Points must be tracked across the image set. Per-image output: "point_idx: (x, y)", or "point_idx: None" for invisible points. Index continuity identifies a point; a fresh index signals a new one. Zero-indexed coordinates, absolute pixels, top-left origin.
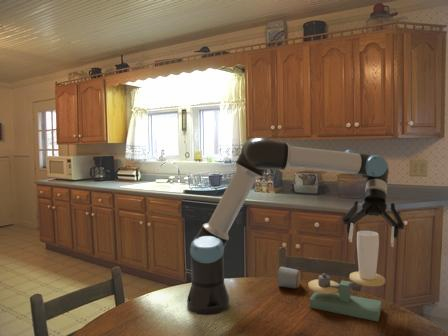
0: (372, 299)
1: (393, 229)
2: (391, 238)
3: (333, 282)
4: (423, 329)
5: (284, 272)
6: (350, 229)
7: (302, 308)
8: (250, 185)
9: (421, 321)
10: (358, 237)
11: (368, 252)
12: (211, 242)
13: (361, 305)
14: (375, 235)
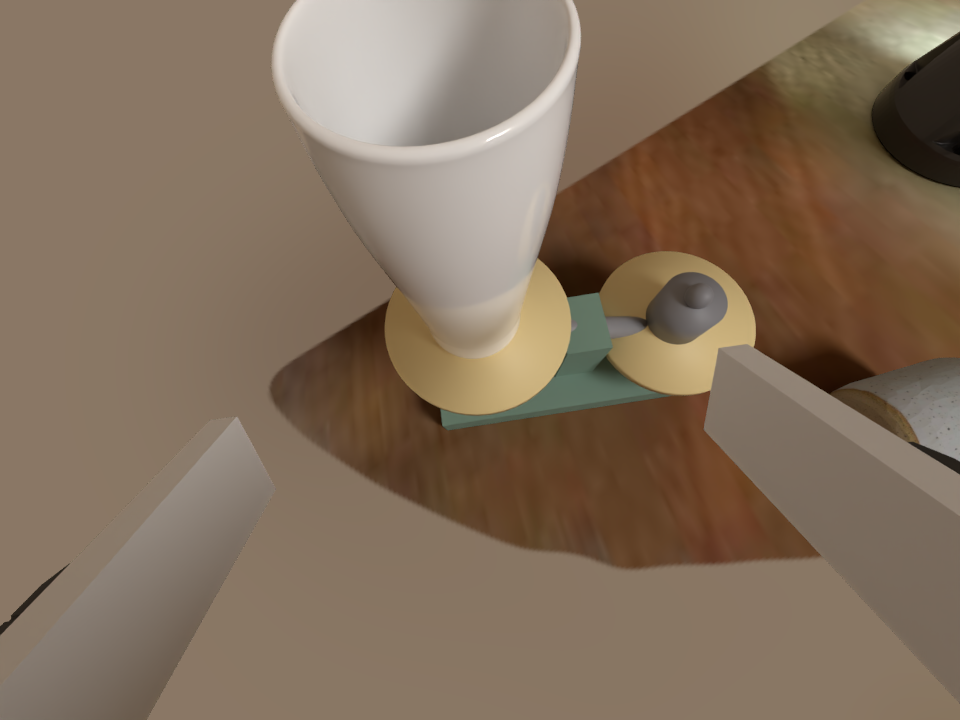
0: (476, 421)
1: (2, 642)
2: (192, 461)
3: (656, 373)
4: (305, 364)
5: (953, 374)
6: (878, 434)
7: None
8: None
9: (311, 417)
10: (523, 11)
11: (428, 142)
12: None
13: None
14: None
